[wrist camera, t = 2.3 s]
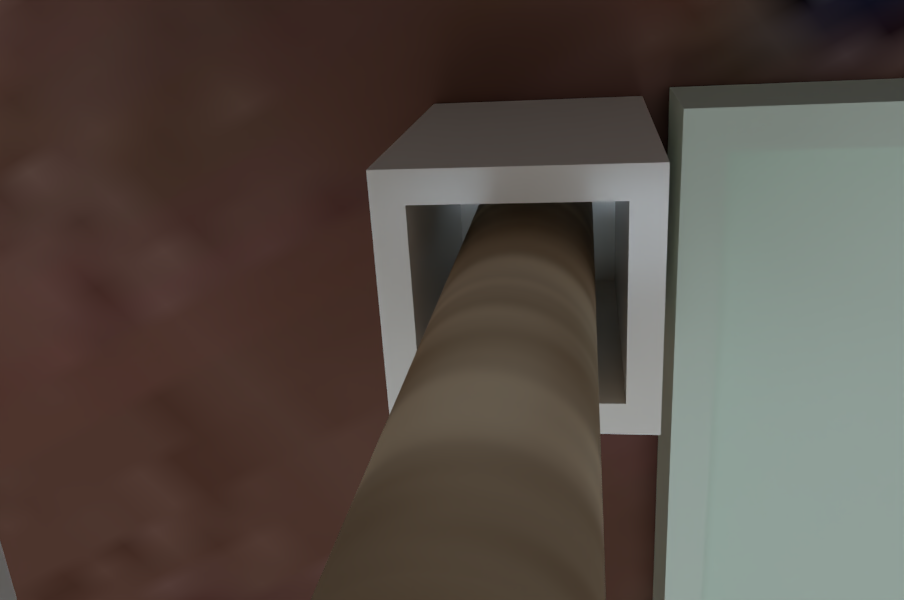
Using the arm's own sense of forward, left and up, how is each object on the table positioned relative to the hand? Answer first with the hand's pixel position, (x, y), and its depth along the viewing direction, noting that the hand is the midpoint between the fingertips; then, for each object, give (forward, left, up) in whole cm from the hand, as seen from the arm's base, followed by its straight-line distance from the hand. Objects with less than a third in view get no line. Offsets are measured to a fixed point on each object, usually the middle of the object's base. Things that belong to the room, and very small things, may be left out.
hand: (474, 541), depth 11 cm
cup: (0, 0, -15) cm, 15 cm away
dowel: (0, 0, -14) cm, 14 cm away
